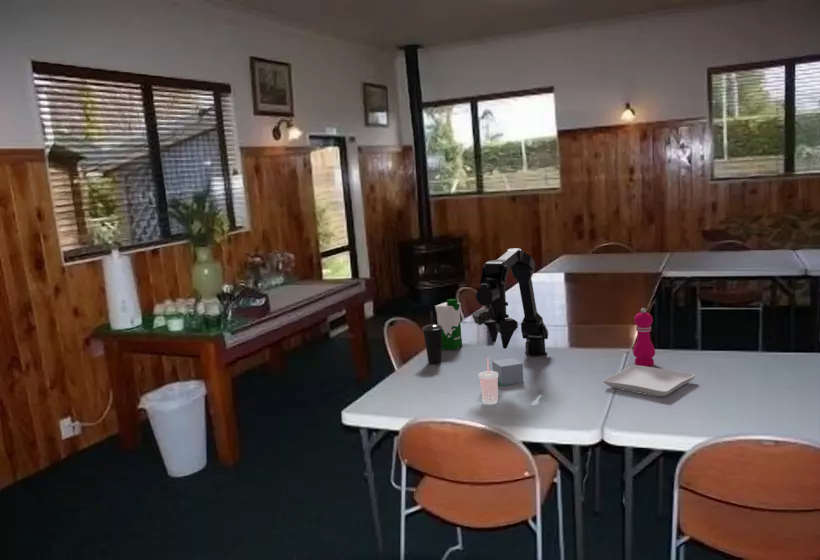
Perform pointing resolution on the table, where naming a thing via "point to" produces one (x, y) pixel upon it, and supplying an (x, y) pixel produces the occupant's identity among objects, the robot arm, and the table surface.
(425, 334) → the drinking cup
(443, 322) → the milk carton
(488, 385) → the beverage cup
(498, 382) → the disc
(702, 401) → the table surface
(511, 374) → the grey block
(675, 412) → the table surface
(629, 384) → the salad plate
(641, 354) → the pepper mill
